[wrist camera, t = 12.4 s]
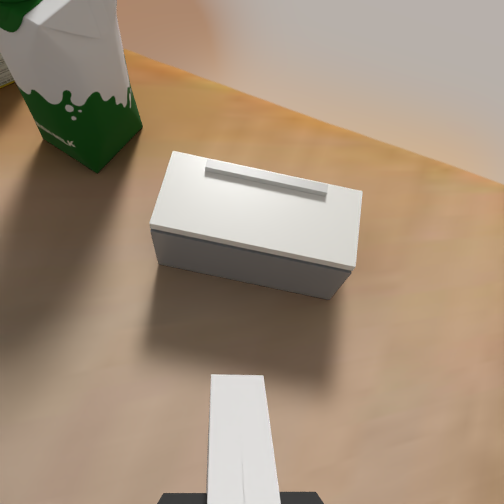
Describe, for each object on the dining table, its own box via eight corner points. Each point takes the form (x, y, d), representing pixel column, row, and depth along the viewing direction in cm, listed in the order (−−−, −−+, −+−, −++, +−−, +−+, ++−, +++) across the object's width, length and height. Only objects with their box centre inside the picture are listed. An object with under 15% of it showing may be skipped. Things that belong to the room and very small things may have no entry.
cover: (150, 228, 36) (148, 219, 35) (173, 156, 39) (172, 146, 38) (352, 271, 37) (357, 263, 35) (359, 196, 40) (364, 187, 38)
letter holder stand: (158, 264, 43) (150, 231, 37) (178, 194, 46) (174, 152, 40) (329, 300, 43) (351, 273, 37) (338, 228, 46) (359, 192, 40)
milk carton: (29, 140, 47) (-83, -60, 28) (90, 84, 50) (25, -127, 32) (99, 185, 46) (28, 6, 27) (156, 125, 49) (128, -71, 31)
